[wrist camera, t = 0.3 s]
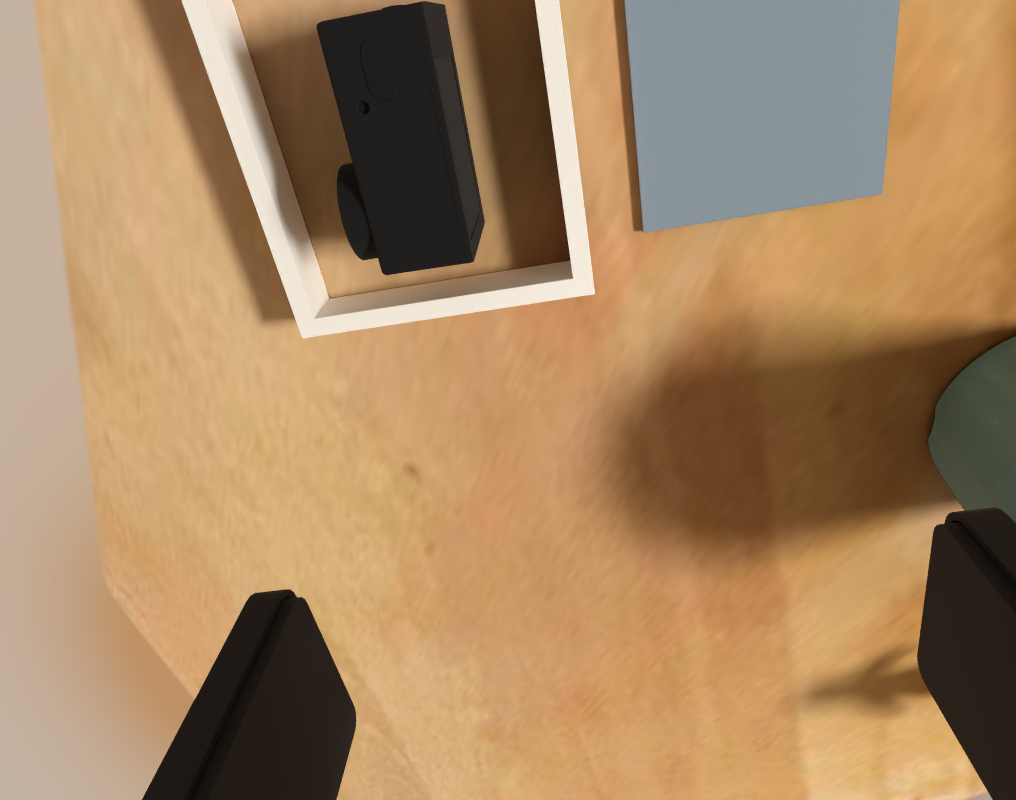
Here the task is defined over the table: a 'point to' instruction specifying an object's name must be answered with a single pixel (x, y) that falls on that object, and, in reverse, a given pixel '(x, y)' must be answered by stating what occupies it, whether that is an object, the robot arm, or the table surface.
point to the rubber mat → (758, 104)
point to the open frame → (286, 226)
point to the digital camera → (403, 139)
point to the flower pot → (979, 432)
